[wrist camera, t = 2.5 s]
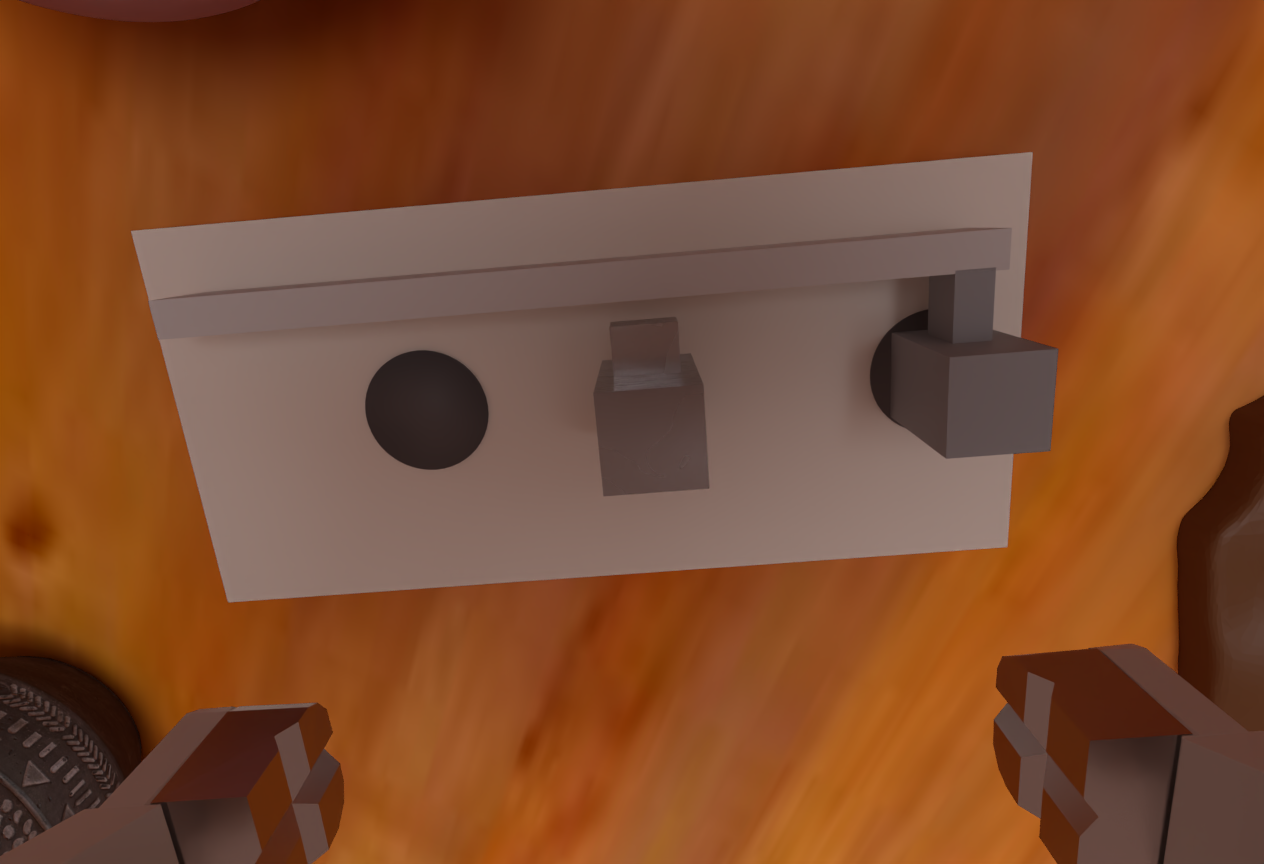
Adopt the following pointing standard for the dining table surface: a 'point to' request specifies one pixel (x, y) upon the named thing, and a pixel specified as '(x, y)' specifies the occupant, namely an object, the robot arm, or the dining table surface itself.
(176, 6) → the balloon
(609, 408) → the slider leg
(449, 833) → the dining table surface
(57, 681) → the planter
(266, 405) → the grey peg board
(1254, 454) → the plant
